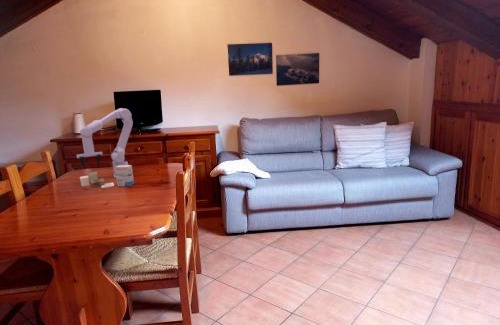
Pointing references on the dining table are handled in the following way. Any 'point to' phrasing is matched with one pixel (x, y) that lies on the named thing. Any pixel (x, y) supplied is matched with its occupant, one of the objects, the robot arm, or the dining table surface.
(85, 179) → the cream block
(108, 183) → the tile
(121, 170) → the ink box
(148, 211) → the dining table surface
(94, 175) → the sage block
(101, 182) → the walnut slab
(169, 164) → the dining table surface
